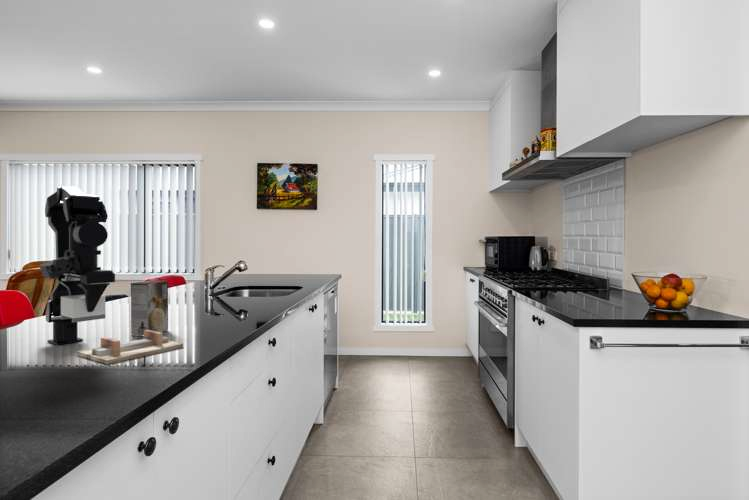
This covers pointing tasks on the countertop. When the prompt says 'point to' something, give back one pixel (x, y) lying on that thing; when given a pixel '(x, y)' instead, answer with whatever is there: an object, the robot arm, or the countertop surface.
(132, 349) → the rail board
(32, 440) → the countertop surface
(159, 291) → the coffee box
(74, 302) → the block
